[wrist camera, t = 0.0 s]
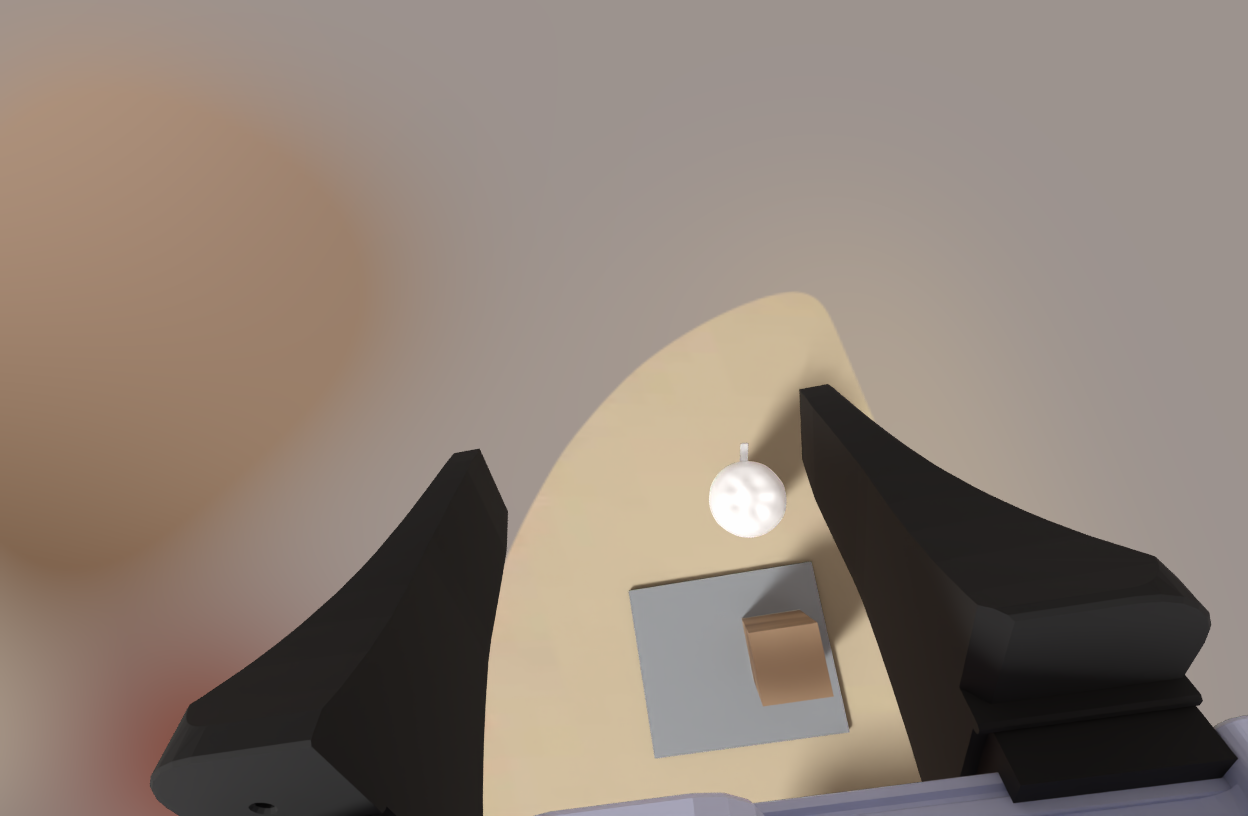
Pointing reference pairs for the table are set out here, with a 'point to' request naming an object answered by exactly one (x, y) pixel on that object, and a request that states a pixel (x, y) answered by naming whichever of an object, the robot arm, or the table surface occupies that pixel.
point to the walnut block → (787, 658)
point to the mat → (724, 662)
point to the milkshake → (747, 497)
